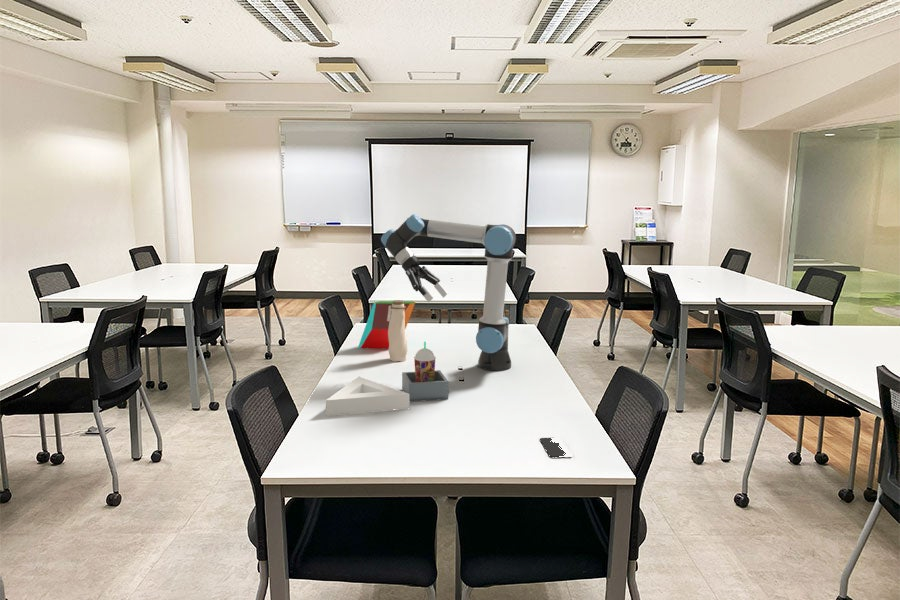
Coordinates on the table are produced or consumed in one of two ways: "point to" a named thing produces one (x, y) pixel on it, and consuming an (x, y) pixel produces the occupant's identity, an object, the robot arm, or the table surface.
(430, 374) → the smoothie
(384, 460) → the table surface
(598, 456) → the table surface
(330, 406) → the triangle block
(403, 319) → the water bottle
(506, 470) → the table surface
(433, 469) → the table surface
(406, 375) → the tray
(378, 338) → the gem
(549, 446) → the phone
